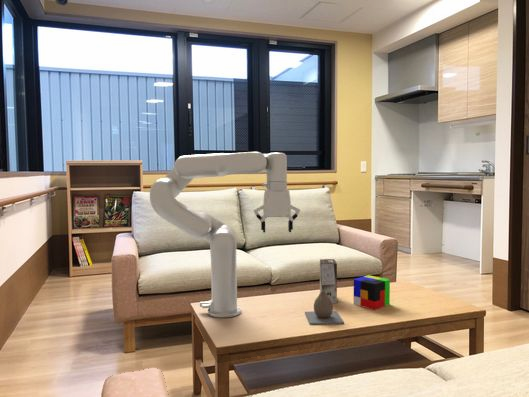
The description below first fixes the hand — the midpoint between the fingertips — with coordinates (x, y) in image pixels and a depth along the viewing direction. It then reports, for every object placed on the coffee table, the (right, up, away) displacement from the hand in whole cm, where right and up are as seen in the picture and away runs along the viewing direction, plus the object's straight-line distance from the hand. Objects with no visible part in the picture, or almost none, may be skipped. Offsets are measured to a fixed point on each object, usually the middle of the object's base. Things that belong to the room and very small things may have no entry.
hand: (276, 231), depth 158 cm
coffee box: (+22, -29, +16) cm, 40 cm away
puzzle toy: (+38, -30, +10) cm, 49 cm away
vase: (+16, -30, -6) cm, 35 cm away
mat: (+17, -31, -6) cm, 35 cm away
